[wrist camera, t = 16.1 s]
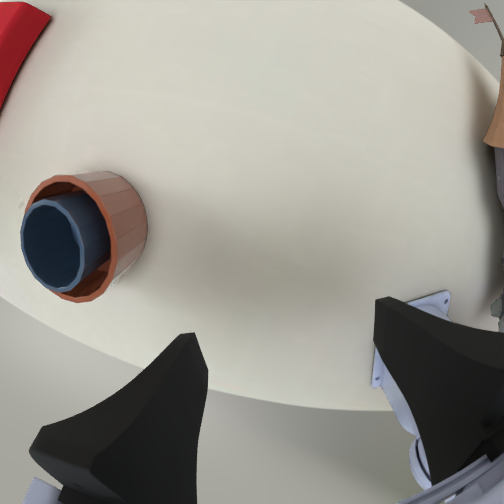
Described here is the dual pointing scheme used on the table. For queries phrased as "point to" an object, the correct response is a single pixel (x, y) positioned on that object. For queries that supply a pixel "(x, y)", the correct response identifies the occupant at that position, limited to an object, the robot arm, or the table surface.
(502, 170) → the model tower
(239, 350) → the table surface
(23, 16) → the red flat box
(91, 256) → the blue cup
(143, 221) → the terracotta tumbler
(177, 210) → the table surface
